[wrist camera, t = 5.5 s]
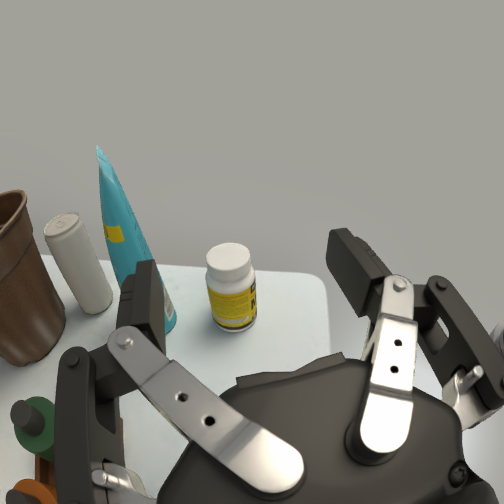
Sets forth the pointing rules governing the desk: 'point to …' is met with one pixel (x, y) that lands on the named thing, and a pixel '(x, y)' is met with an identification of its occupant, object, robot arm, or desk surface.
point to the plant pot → (24, 288)
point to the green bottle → (35, 426)
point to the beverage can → (78, 262)
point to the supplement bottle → (231, 287)
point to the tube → (124, 232)
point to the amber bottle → (31, 493)
